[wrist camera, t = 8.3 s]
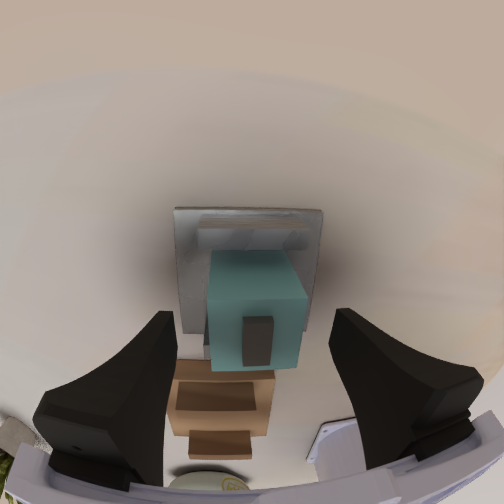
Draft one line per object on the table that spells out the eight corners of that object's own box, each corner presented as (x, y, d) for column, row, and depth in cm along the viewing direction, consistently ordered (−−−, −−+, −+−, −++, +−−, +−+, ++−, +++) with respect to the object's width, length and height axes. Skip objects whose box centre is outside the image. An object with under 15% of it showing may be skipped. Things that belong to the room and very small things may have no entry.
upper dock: (263, 418, 23) (269, 458, 19) (176, 418, 22) (172, 458, 18) (271, 359, 20) (281, 407, 16) (161, 358, 19) (151, 406, 15)
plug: (279, 310, 17) (298, 375, 12) (213, 312, 17) (211, 379, 12) (284, 250, 16) (311, 304, 11) (211, 250, 15) (206, 307, 10)
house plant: (45, 416, 22) (10, 522, 7) (80, 463, 27) (63, 546, 12) (-26, 383, 20) (-67, 462, 5) (12, 436, 25) (-12, 505, 10)
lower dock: (303, 326, 19) (315, 356, 16) (184, 327, 18) (178, 360, 15) (320, 210, 16) (340, 226, 13) (175, 207, 15) (163, 224, 12)
